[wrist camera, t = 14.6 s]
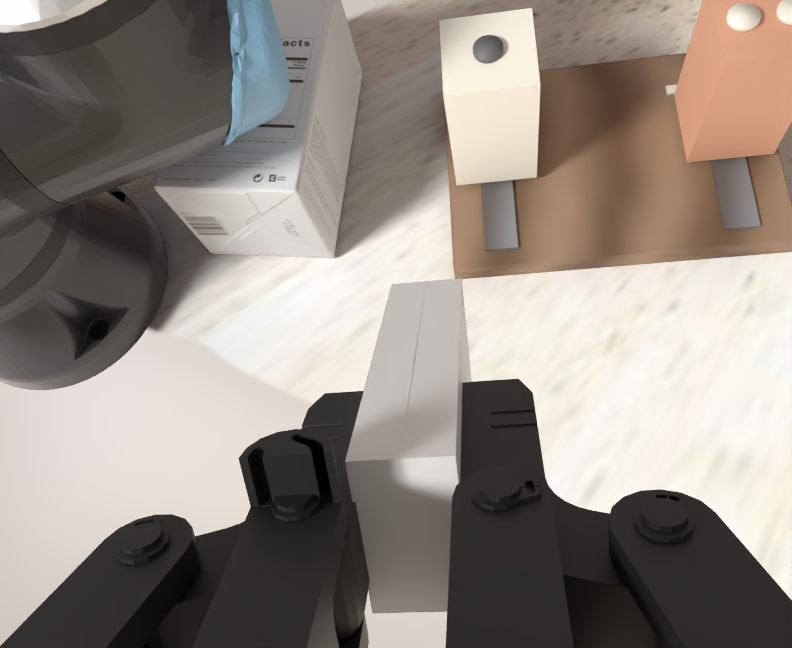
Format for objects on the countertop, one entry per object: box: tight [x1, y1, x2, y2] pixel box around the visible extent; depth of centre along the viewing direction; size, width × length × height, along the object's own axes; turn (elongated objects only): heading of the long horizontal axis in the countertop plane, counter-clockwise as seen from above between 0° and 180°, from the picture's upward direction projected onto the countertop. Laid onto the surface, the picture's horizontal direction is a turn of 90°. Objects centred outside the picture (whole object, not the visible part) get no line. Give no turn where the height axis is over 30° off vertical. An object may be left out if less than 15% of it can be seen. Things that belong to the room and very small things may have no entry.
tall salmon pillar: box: [674, 0, 792, 163], centre depth 42 cm, size 5×5×9 cm
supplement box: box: [153, 0, 363, 258], centre depth 48 cm, size 9×9×15 cm
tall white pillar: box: [439, 8, 540, 185], centre depth 44 cm, size 5×5×9 cm
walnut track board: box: [445, 53, 792, 279], centre depth 48 cm, size 20×14×2 cm
